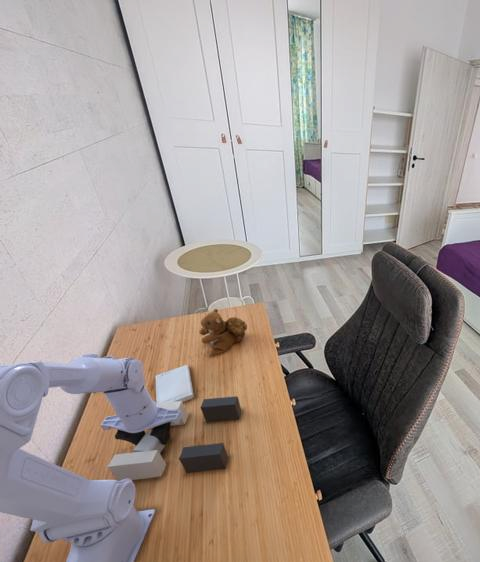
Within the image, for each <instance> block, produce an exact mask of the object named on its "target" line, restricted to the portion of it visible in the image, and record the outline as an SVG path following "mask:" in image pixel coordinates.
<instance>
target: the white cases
mask: <svg viewBox="0 0 480 562" xmlns="http://www.w3.org/2000/svg"><path fill="white" fill-rule="evenodd" d="M155 406H158V407H162V408H166V409H170V410H175V411H178V410H180V411H181V414H182V418H181V420H180V422H179V424H174V423H173V422H171V425H170V427H171V426H181V425H185V424H186V422H187V420H188V418H189V414H188V412H187V411H188V410H187V409H186V407H185V405H184V402H182V401H175V402H163V403H156V405H155ZM166 466H167V464H166V462H165V460H164V458H163V457H162V455H161V452H160V453H159V451H158V450H152V451H143V452H134V453H133V452H125V453H115V454H114V455H113V457H112V458H111V460H110V462H109V463H108V465H107V468H108V469H109V470H110V472H111V473H112V475H114V477H115V478H116V480H118V481H121V480H123V479H131V480H132V481H135V480H145V479H152V478H160V477H162V475H163V473H164V471H165V469H166Z"/></svg>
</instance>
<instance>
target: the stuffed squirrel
mask: <svg viewBox="0 0 480 562" xmlns="http://www.w3.org/2000/svg"><path fill="white" fill-rule="evenodd" d="M200 324H201V327H202V328H201V329H200V330H198V331H199V334H200V335H201V336H203V337H202V338H201V343H202V344H205V345H206V344H209V343H210V345H211V346H212V348H211V349H210V351H209V355H210V356H212V357H213V356H216V355H219V354H222V353H225V352H226V351H228V349H230V348H231V346H233V344H235V343H238V342H240V341H242V340H243V339H244V338H245V335H246V330H247V329H248V325H247V323H246V322H245V321H244V320H242V319H241V318H238V317H237V316H233V317H229V318H228V319H226V321H225V320H223V318H222V316H221V314H220V313H219V310H218V309H217V308H214V309H213V311H210V312H209V313H207V315H206V316H204V317H203V318H202V319H201V320H200Z"/></svg>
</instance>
